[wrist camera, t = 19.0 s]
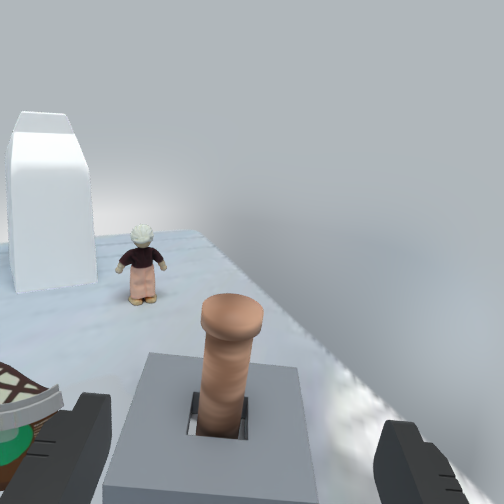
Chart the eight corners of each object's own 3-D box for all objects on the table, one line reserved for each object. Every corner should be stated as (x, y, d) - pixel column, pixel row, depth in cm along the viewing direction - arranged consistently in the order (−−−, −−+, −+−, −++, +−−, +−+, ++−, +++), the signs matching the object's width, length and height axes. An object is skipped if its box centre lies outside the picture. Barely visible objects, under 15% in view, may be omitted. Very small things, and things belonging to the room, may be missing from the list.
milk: (16, 293, 66) (-1, 116, 56) (9, 262, 74) (-6, 104, 64) (97, 283, 72) (96, 121, 62) (82, 255, 81) (79, 110, 71)
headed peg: (243, 419, 48) (262, 296, 42) (242, 462, 43) (264, 328, 37) (193, 415, 48) (205, 290, 42) (186, 457, 43) (198, 321, 37)
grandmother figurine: (156, 290, 72) (159, 218, 67) (167, 300, 70) (171, 226, 65) (111, 300, 68) (111, 223, 63) (121, 311, 65) (122, 232, 60)
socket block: (293, 387, 54) (297, 367, 53) (312, 527, 38) (318, 503, 36) (148, 372, 53) (149, 352, 52) (102, 509, 37) (102, 484, 35)
